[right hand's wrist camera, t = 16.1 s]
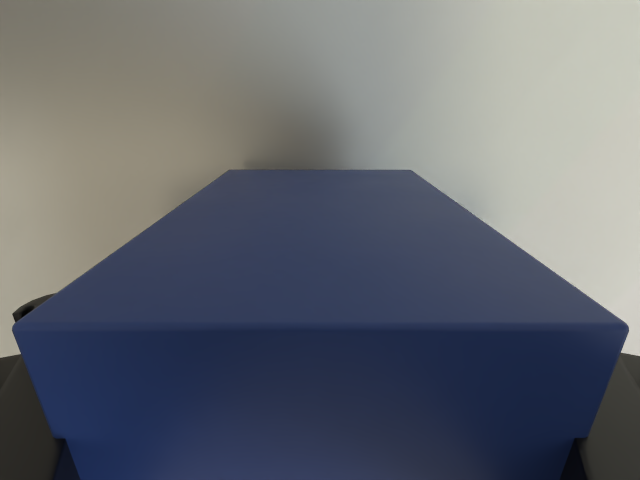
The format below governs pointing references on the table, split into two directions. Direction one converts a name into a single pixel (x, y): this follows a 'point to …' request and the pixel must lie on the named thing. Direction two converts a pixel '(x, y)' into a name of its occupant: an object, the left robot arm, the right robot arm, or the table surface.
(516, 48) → the table surface
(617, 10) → the table surface
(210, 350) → the box
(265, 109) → the table surface
